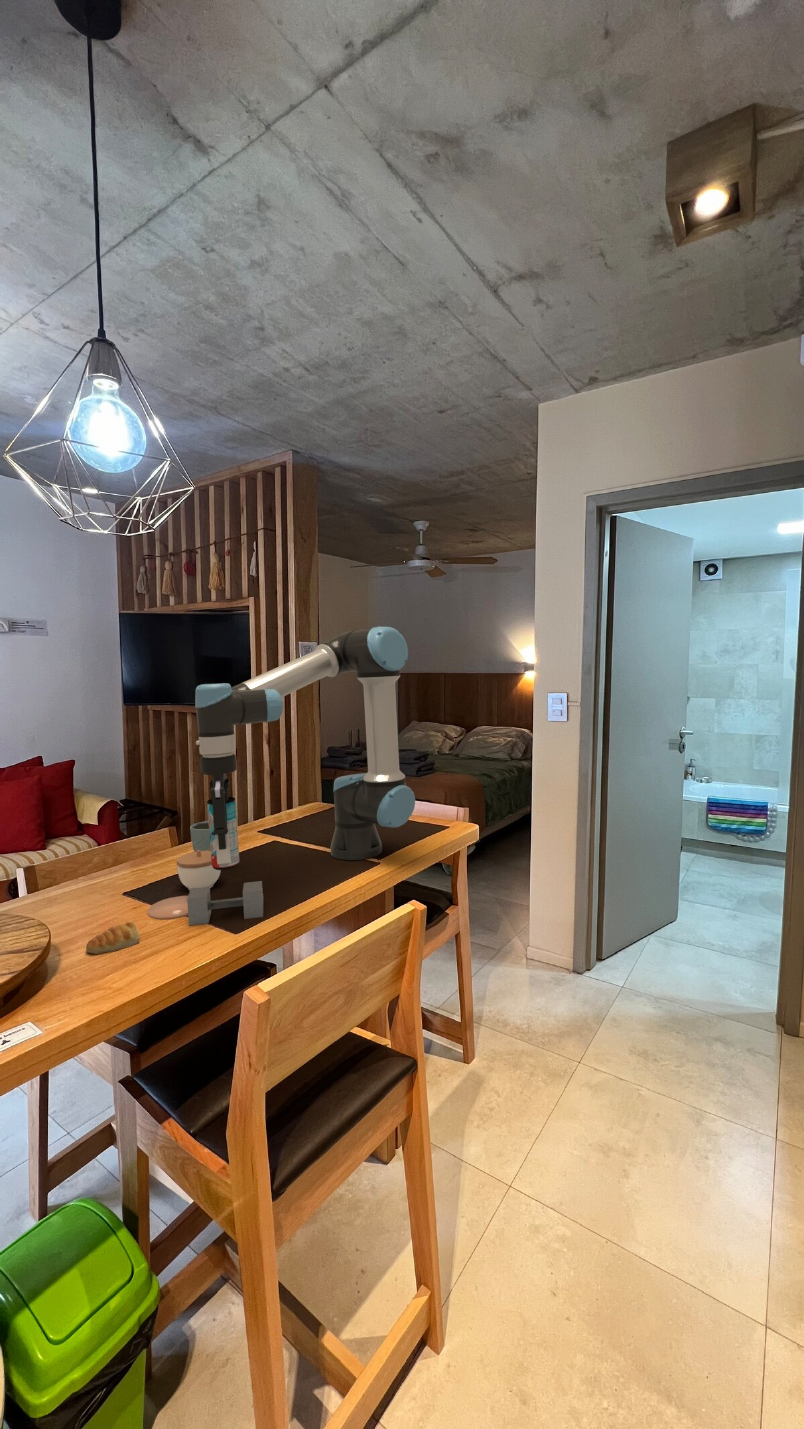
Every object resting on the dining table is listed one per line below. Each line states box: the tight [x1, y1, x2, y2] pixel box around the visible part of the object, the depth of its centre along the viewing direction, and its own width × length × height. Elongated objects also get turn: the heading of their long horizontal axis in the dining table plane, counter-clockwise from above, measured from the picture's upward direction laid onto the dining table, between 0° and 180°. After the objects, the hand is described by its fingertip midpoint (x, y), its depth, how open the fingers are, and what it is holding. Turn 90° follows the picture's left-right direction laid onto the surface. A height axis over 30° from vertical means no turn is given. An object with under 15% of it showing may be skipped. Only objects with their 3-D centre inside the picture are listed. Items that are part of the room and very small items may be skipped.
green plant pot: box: [189, 820, 211, 852], centre depth 165 cm, size 10×10×12 cm
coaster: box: [147, 895, 188, 920], centre depth 136 cm, size 12×12×1 cm
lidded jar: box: [176, 850, 222, 891], centre depth 149 cm, size 11×11×9 cm
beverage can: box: [206, 796, 240, 871], centre depth 129 cm, size 6×6×15 cm
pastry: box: [85, 921, 141, 955], centre depth 118 cm, size 9×7×4 cm
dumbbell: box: [187, 880, 264, 926], centre depth 132 cm, size 16×9×6 cm, turn 102°
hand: (225, 857), depth 130 cm, fingers closed on beverage can, 6 cm apart
